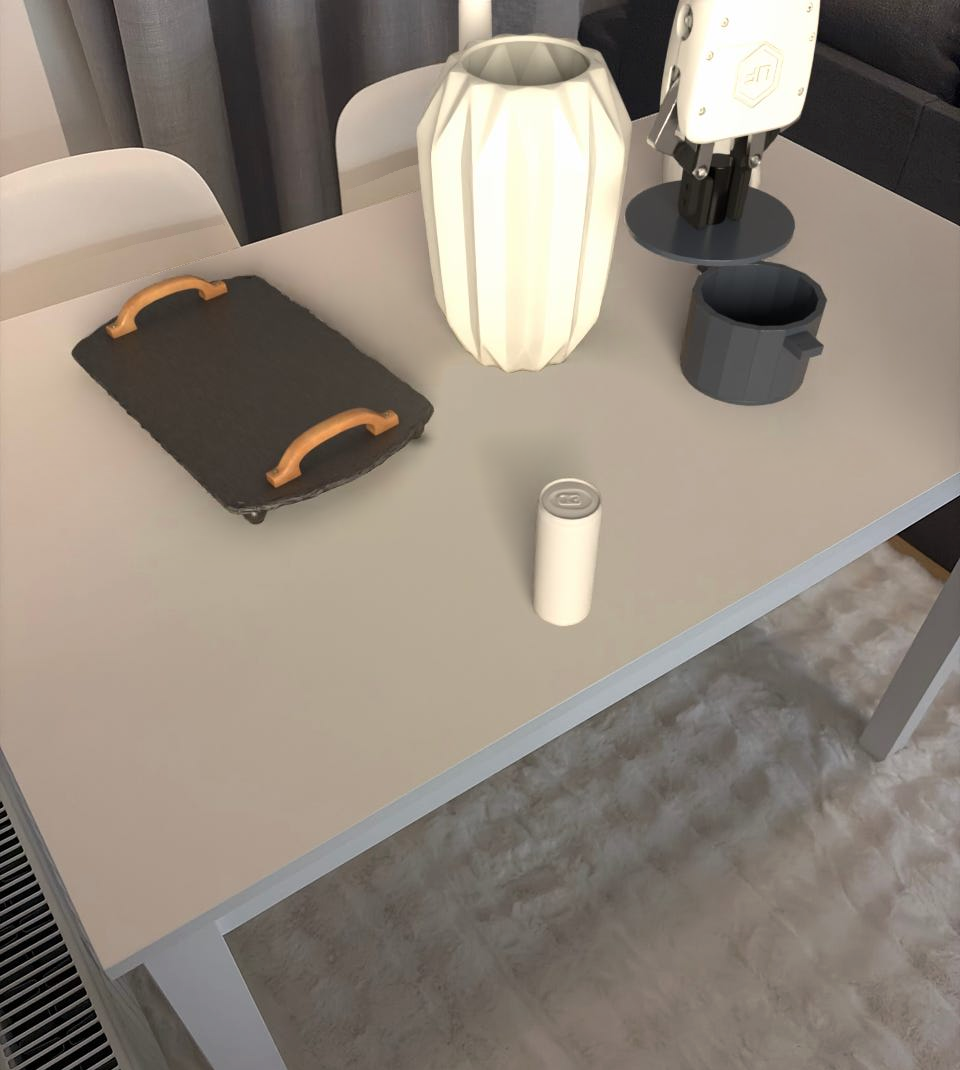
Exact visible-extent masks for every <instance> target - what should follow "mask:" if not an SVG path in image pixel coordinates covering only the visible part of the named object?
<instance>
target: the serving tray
mask: <svg viewBox="0 0 960 1070" xmlns="http://www.w3.org/2000/svg"><path fill="white" fill-rule="evenodd" d="M71 356H72V359H73V360H74V362H76V363H77V364H78V365H79V366H80V367H81V368H82V369H83V370H84V371H85V372H86V373H87V374H88V375H89V376H90V378H92V379H93V380H94V381H95V382H96V383H97V384H98V385H99V386H100V387H101V388H102V389H103V390H105V391H106V393H107V396H109V397H111V398H112V399H113V400H114V401H115V402H117V403H118V405H119V406H120V407H121V408H123V409H124V410H125V412H126V414H127V415H129V416H130V417H131V418H132V419H133V420H135V421H136V422H137V423H138V424H139V425H140V428H141V429H143V430H145V431H146V432H147V433H148V434H149V436H150V438H152V439H153V440H155V441H156V442H157V443H158V444H159V445H160V446H161V448H162V449H163V450H164V451H165V452H166V453H167V454H169V455H170V456H171V458H173V459H174V460H175V462H177V463H178V465H180V466H181V467H182V468H183V469H185V471H186V472H187V473H189V475H190V476H191V477H192V478H193V480H195V481H196V482H197V483H198V484H199V485H200V486H201V487H202V488H204V489H205V490H206V491H207V493H209V494H210V496H212V497H213V499H214V500H215V501H216V502H218V503H219V504H220V506H222V508H224V509H225V510H227V511H228V512H230V513H231V514H233V515H242V516H243V518H244V520H246V521H247V522H249V524H251V525H260V524H262V523H263V522H264V521H265V518H266V516H267V511H272V510H273V511H274V510H277V509H279V508H280V507H282V506H289V505H294V504H297V503H300V502H303V501H307V500H310V499H313V498H316V497H318V496H320V495H322V494H324V493H326V492H328V491H331V490H333V489H336V488H338V487H342V486H343V485H346V484H349V483H351V482H353V481H355V480H357V479H359V478H361V477H363V476H365V475H367V474H368V473H369V472H371V471H372V470H374V469H375V468H377V467H379V466H381V465H383V464H384V463H385V462H386V461H387V460H388V459H389V458H391V457H392V456H393V455H395V454H396V453H398V452H400V451H401V450H402V449H404V448H405V447H406V446H407V445H408V444H409V443H410V442H411V441H412V440H419V439H420V438H421V437H422V435H423V434H424V432H425V427H426V425H427V424H428V423H429V422H430V420H431V418H432V416H433V415H434V412H435V408H434V406H433V404H432V403H431V401H429V399H428V398H427V397H425V396H424V395H423V394H421V393H420V392H418V391H417V390H415V389H414V388H412V386H411V385H410V384H408V383H407V382H406V381H404V380H402V379H401V378H399V377H398V376H397V375H396V374H394V373H393V372H392V371H390V369H388V368H387V367H386V366H385V365H384V364H382V363H381V362H379V361H378V360H377V359H375V358H373V357H371V356H369V355H367V354H366V353H364V352H363V351H361V350H360V349H358V348H357V347H356V346H355V345H354V344H353V343H352V342H351V341H350V339H348V338H347V337H346V336H344V335H343V334H342V333H340V331H338V330H337V329H334V328H332V327H331V326H329V325H328V324H327V323H326V322H323V321H322V320H320V319H319V318H318V317H317V316H316V315H315V314H313V313H311V310H310V309H309V308H307V307H306V306H303V305H301V304H299V303H298V302H296V301H294V300H291V298H290V297H289V296H287V295H286V294H283V292H282V291H280V289H278V287H276V286H274V285H273V284H270V283H269V282H268V281H267V280H266V279H265V278H263V277H261V276H258V275H257V274H251V275H250V274H249V275H248V274H247V275H244V274H243V275H235V276H233V277H230V278H229V277H228V278H224V279H223V278H221V279H217V280H210V281H208V280H206V279H204V278H202V277H200V276H197V275H195V274H189V273H188V274H182V275H176V276H171V277H168V278H166V279H163V280H160V281H158V282H155V283H153V284H151V285H148V286H146V287H144V288H143V289H141V290H139V291H137V292H136V293H134V294H133V295H132V296H130V297H129V298H128V299H127V300H126V302H125V303H124V304H123V306H122V308H121V309H120V312H119V313H118V315H116V316H114V317H113V318H111V319H110V320H109V321H107V322H105V323H104V324H102V325H100V326H99V327H98V328H96V329H95V330H94V331H93V332H91V333H90V334H89V335H88V336H86V337H83V338H82V339H81V340H80V341H78V342H77V343H76V345H75V346H74V347H73V348H72V350H71Z"/></svg>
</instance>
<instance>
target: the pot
mask: <svg viewBox="0 0 960 1070" xmlns="http://www.w3.org/2000/svg"><path fill="white" fill-rule="evenodd" d="M696 270H697V271H699V273H701V274H699V275H698V276H697V277H696V280H695V282H694V284H693V286H692V289H691V295H690V300H689V305H688V312H687V316H686V323H685V328H684V334H683V341H682V346H681V351H680V357H679V359H680V370H681V373H682V375H683V377H684V379H685V380H686V381H687V382H688V384H690V385H691V386H692V387H693V388H694V389H695V390H697V391H698V392H699V393H702V394H703V395H705V396H707V397H709V398H711V399H714V400H717V401H720V402H723V403H727V404H732V405H738V406H764V405H771V404H775V403H778V402H781V401H784V400H786V399H788V398H790V397H791V396H793V395H794V394H795V393H796V392H797V391H798V390H799V389H800V388H801V387H802V386H803V385H802V384H803V383H804V379H805V375H806V372H807V370H808V366H809V363H810V359H811V358H814V357H818V356H822V353H823V350H824V348H825V345H824V344H823V343H822V342H821V341H819V340H818V339H817V336H818V332H819V329H820V325H821V322H822V320H823V319H822V318H823V317H824V316H823V315H824V312H825V309H826V305H827V302H828V299H827V296H826V295H825V292H824V290H823V288H822V286H821V284H820V283H818V282H817V281H816V280H814V279H813V278H812V277H811V276H809V275H808V274H807V273H805V272H804V271H803V272H802V271H800V270H798V269H796V268H793V267H791V266H788V265H786V264H783V263H777V262H772V261H765V260H761V261H757V262H754V263H749V264H744V265H736V266H702V265H696Z"/></svg>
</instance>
